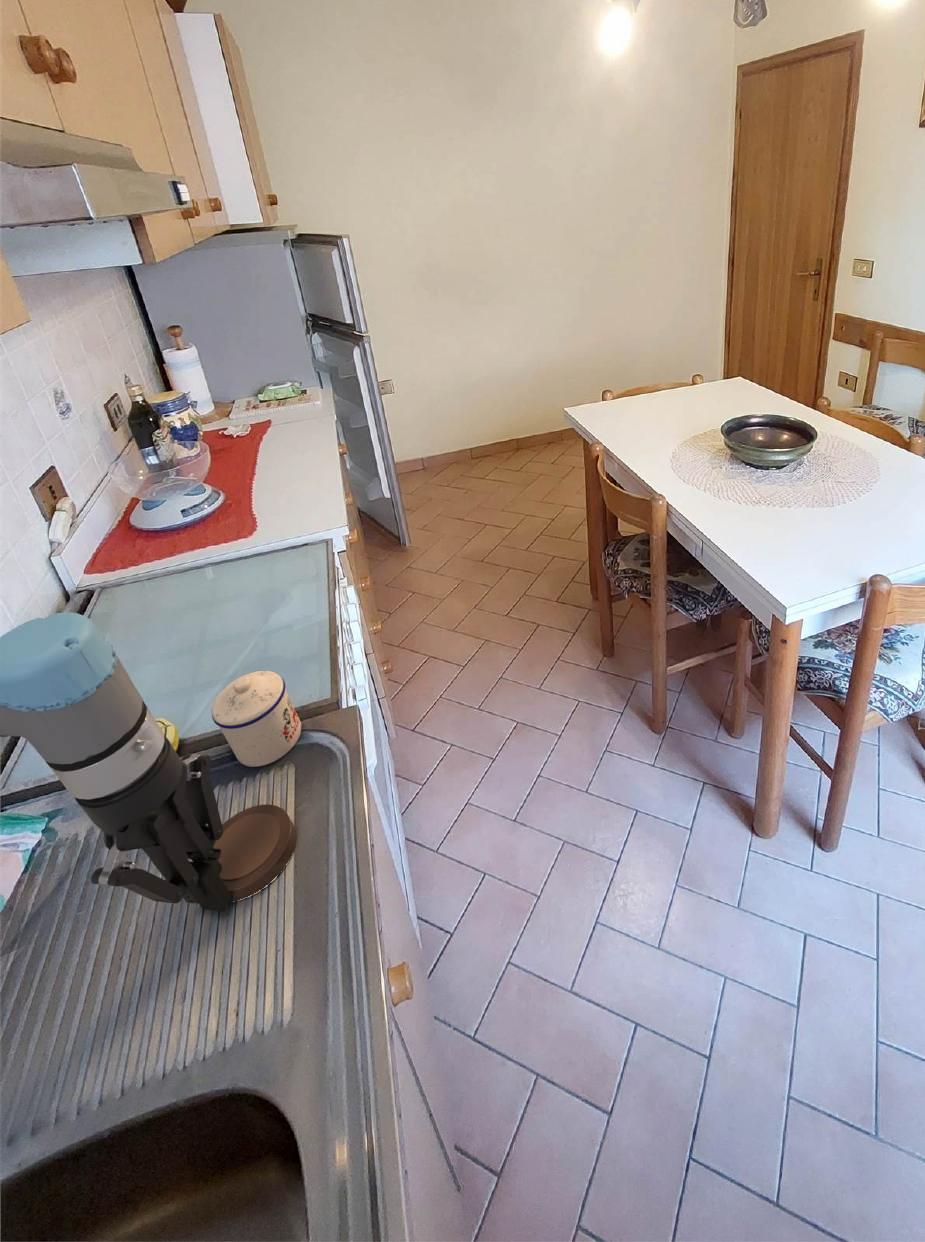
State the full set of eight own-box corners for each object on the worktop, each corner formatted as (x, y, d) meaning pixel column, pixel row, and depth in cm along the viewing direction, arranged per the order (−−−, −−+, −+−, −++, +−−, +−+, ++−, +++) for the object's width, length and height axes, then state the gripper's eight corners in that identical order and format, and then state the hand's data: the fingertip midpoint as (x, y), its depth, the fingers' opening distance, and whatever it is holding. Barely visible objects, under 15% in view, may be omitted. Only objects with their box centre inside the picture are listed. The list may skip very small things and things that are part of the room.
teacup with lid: (307, 749, 85) (279, 691, 80) (235, 781, 82) (201, 722, 76) (298, 690, 95) (273, 634, 89) (234, 717, 91) (203, 660, 86)
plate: (185, 900, 69) (177, 889, 68) (237, 813, 78) (230, 801, 77) (268, 905, 68) (261, 893, 67) (311, 816, 77) (305, 804, 75)
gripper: (98, 840, 50) (209, 979, 61) (205, 707, 61) (282, 845, 72) (20, 832, 51) (143, 970, 62) (139, 703, 62) (225, 839, 73)
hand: (218, 902), depth 67 cm, fingers closed
